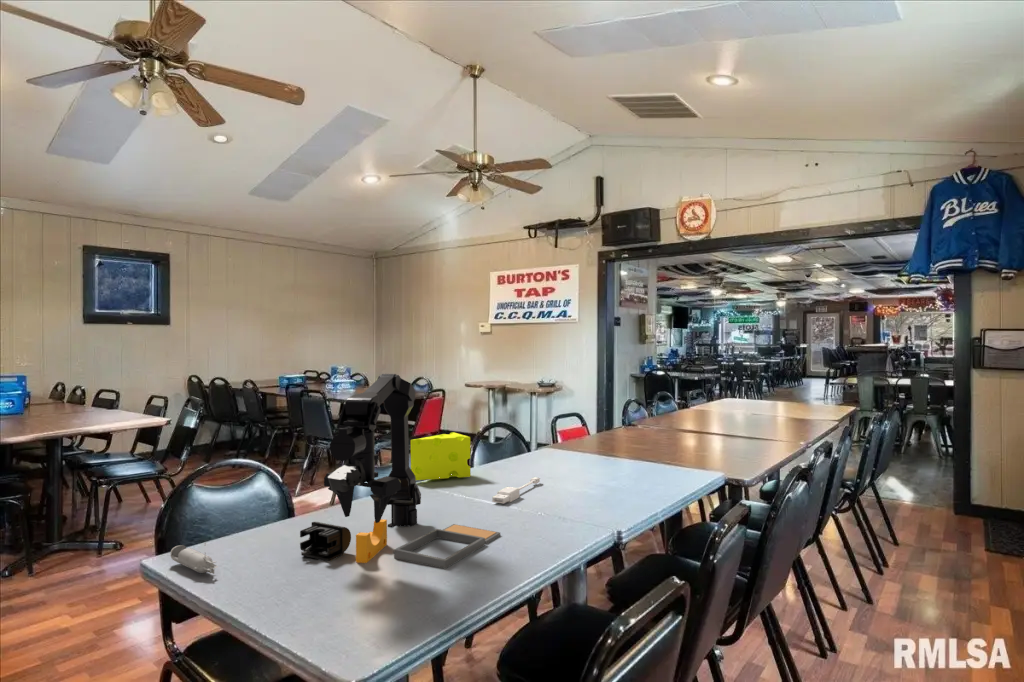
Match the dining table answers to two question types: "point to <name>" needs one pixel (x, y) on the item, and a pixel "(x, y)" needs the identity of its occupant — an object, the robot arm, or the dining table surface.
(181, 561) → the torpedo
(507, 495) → the charging cable
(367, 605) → the dining table surface
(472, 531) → the lid
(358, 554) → the pipe clamp
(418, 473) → the cheese wedge
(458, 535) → the gray rectangular frame
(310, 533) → the end cap
